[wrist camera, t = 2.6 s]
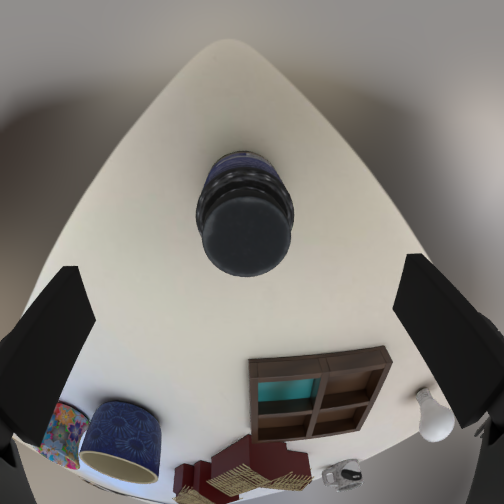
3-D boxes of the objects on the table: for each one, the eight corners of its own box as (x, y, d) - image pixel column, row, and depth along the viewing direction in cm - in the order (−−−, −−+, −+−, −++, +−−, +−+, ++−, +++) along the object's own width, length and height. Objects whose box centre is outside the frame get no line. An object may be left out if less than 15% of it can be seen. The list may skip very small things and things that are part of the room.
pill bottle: (193, 172, 25) (164, 218, 15) (257, 137, 23) (271, 158, 14) (230, 230, 27) (226, 304, 17) (290, 198, 26) (322, 258, 16)
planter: (119, 431, 44) (108, 479, 35) (82, 393, 39) (63, 446, 29) (177, 432, 44) (171, 486, 34) (144, 392, 38) (130, 456, 28)
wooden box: (384, 345, 35) (393, 362, 33) (355, 416, 44) (359, 430, 41) (248, 359, 35) (249, 378, 32) (251, 428, 43) (251, 443, 40)
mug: (362, 458, 55) (368, 480, 49) (349, 468, 58) (354, 489, 52) (326, 461, 53) (331, 485, 47) (314, 471, 56) (318, 494, 50)
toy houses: (234, 430, 43) (235, 483, 34) (322, 449, 49) (330, 491, 40) (149, 482, 59) (145, 512, 50) (214, 498, 65) (213, 525, 56)
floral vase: (59, 393, 39) (40, 441, 30) (100, 421, 43) (87, 468, 33) (40, 407, 42) (24, 447, 33) (76, 431, 46) (64, 471, 36)
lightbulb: (439, 385, 42) (462, 430, 33) (411, 404, 44) (431, 450, 34) (430, 374, 40) (456, 423, 30) (400, 395, 42) (421, 446, 32)
